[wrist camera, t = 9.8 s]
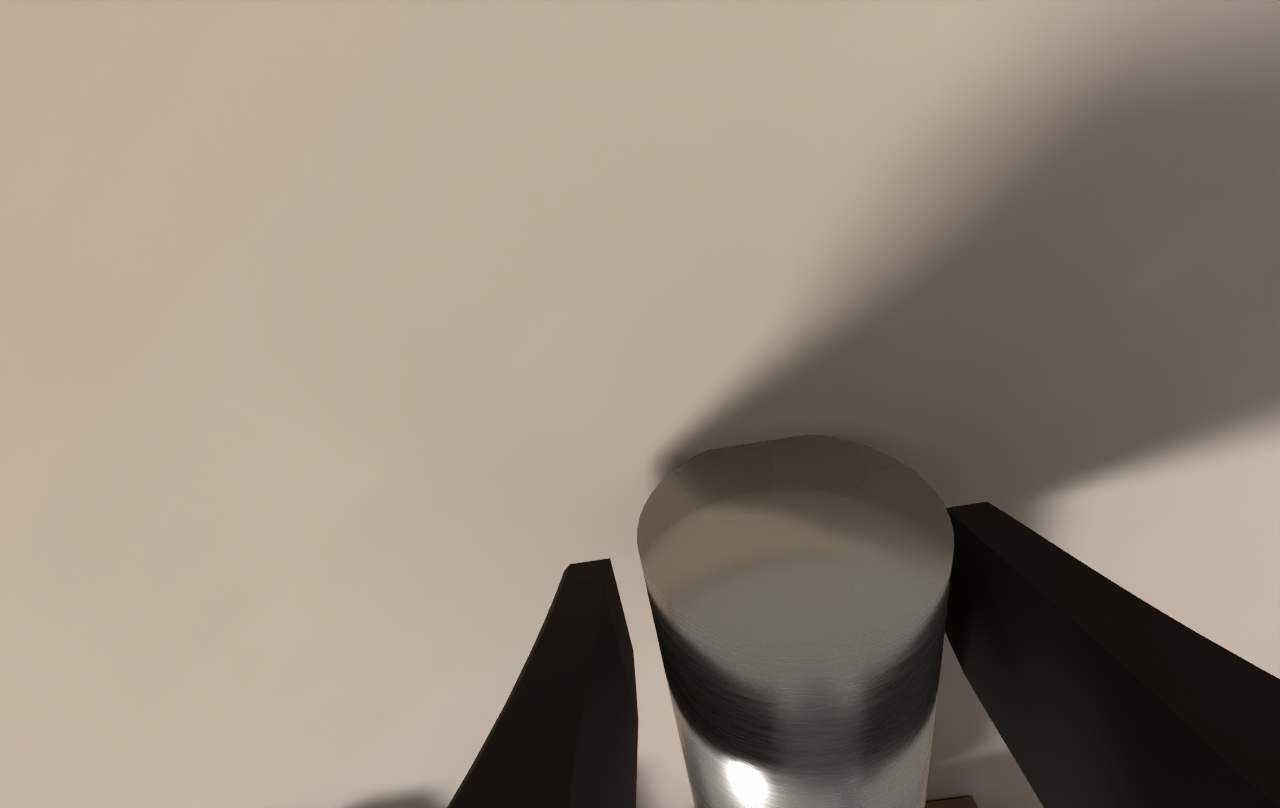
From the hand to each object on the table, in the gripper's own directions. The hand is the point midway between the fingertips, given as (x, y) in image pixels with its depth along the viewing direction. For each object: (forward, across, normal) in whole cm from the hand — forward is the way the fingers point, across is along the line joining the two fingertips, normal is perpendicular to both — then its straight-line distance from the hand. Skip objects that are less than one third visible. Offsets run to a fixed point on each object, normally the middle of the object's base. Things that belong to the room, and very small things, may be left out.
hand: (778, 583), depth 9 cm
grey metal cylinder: (0, 0, +3) cm, 3 cm away
